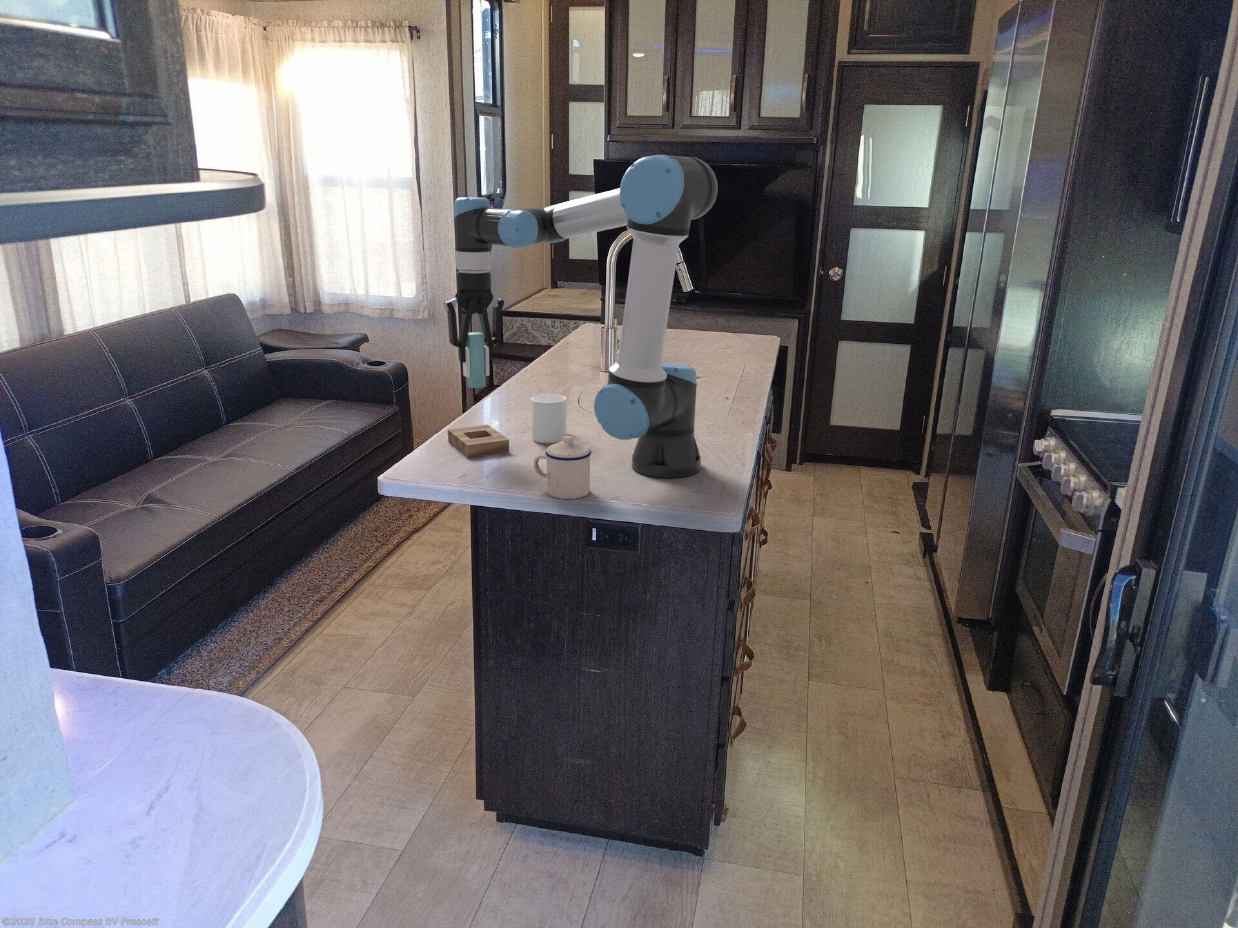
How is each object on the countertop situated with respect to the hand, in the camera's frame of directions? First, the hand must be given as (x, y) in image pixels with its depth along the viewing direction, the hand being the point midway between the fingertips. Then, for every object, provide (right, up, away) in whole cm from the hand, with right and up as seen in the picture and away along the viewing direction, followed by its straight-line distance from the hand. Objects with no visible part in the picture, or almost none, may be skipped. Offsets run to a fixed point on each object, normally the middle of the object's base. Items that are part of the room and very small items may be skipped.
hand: (476, 375), depth 199 cm
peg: (0, -2, +1) cm, 3 cm away
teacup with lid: (+21, -26, -22) cm, 40 cm away
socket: (0, -16, +5) cm, 17 cm away
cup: (+16, -14, +14) cm, 26 cm away
